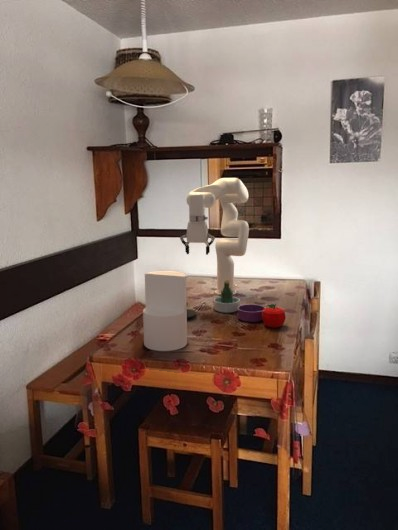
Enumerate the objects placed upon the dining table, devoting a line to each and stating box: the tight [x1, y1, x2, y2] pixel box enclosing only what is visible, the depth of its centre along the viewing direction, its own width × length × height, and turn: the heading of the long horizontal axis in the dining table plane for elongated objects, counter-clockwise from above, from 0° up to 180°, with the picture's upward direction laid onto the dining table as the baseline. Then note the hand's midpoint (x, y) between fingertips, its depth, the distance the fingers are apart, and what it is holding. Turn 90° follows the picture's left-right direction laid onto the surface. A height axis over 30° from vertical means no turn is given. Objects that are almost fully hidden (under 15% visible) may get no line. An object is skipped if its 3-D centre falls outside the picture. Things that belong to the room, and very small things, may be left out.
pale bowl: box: [213, 296, 241, 314], centre depth 229 cm, size 13×13×5 cm
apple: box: [262, 303, 287, 329], centre depth 203 cm, size 11×11×10 cm
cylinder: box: [142, 270, 188, 352], centre depth 181 cm, size 17×17×28 cm
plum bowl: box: [237, 303, 266, 323], centre depth 214 cm, size 13×13×5 cm
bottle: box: [220, 281, 234, 303], centre depth 228 cm, size 6×6×14 cm
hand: (197, 254), depth 223 cm, fingers open, 9 cm apart
